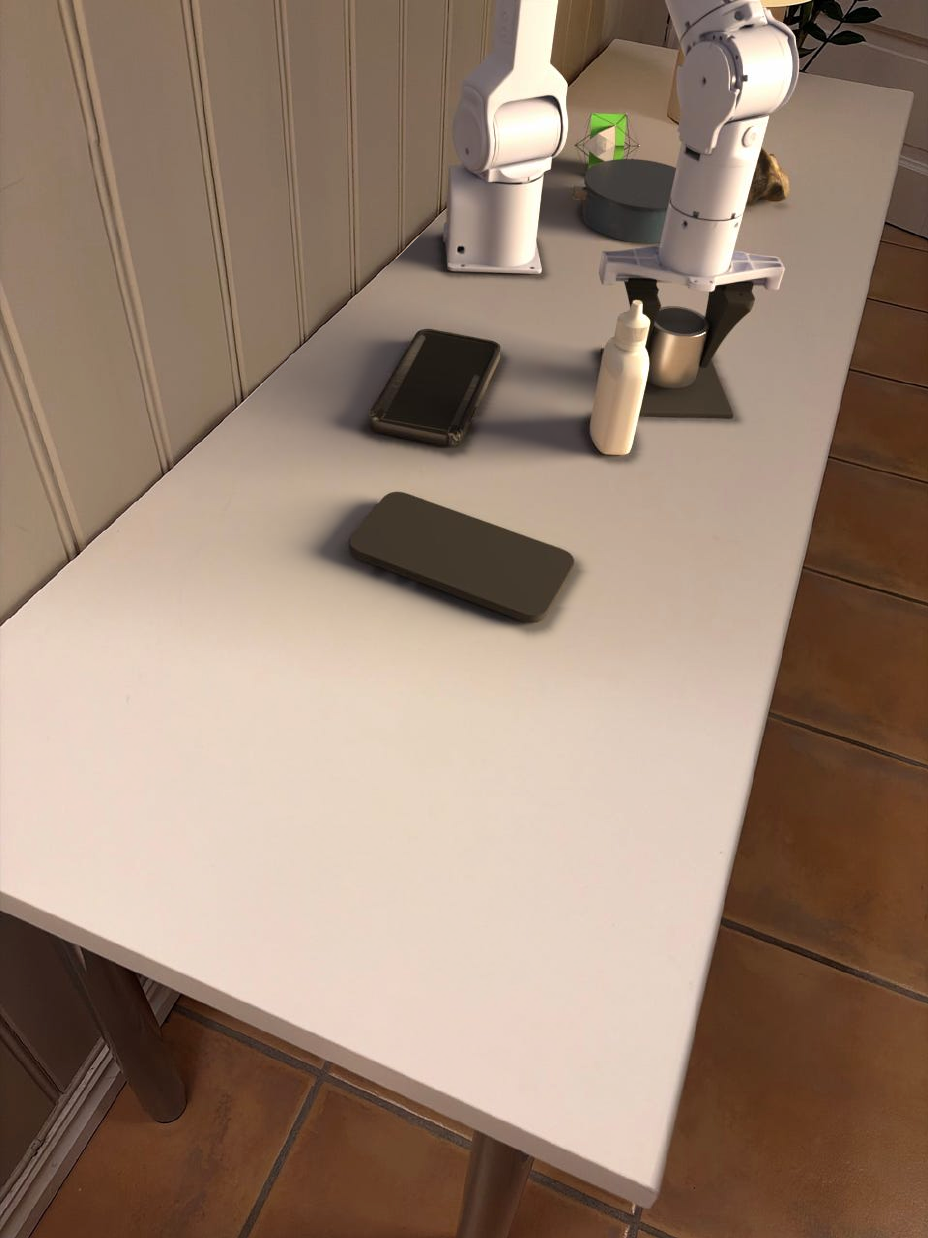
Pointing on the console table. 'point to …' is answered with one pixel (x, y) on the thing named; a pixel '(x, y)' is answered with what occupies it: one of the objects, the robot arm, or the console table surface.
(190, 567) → the console table surface
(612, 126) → the geometric puzzle
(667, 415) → the mat
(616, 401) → the eye dropper bottle
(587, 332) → the console table surface
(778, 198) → the fossilized seashell
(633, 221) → the grey cooking pot
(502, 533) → the phone
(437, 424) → the phone
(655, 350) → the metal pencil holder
